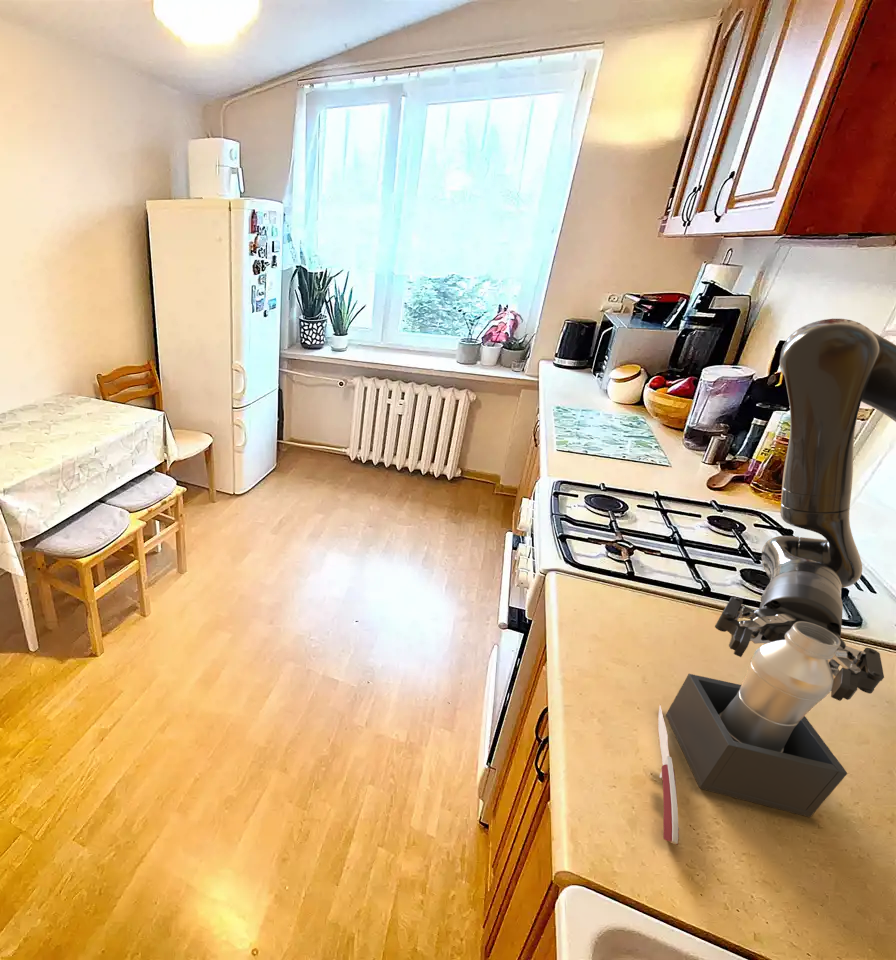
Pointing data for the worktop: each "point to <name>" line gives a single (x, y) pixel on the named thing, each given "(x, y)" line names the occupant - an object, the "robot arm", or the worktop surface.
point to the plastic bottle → (782, 686)
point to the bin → (750, 753)
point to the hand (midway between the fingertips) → (788, 671)
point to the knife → (668, 786)
